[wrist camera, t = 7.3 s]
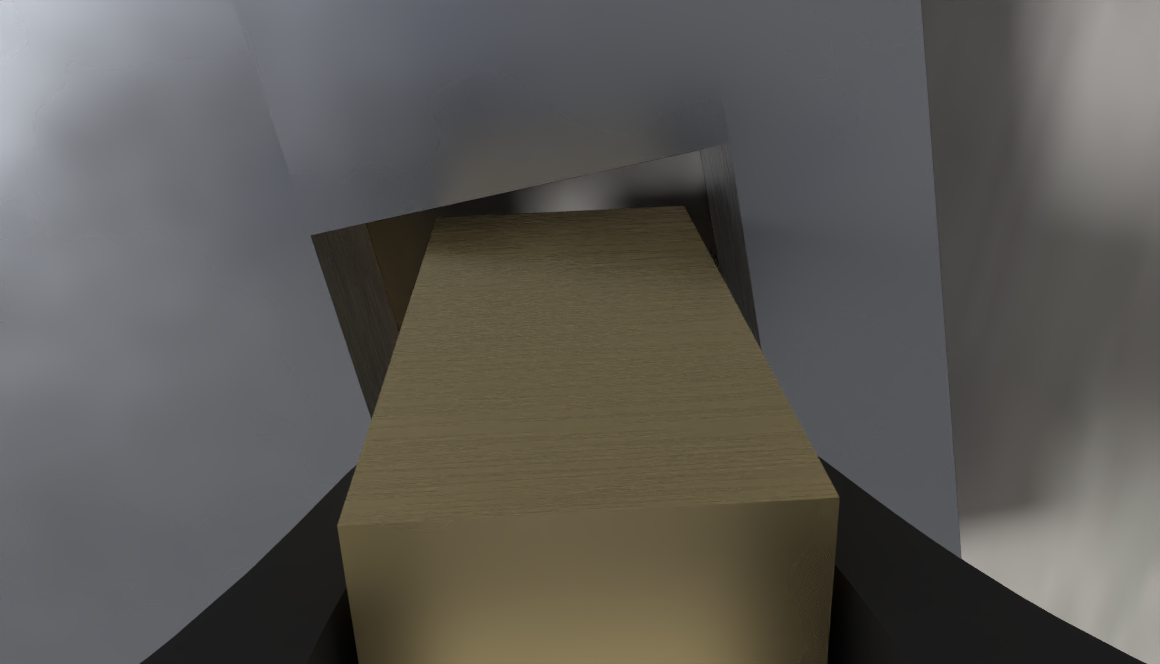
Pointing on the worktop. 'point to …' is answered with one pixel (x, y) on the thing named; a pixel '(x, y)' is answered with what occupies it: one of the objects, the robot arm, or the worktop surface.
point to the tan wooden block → (584, 461)
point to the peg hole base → (350, 268)
